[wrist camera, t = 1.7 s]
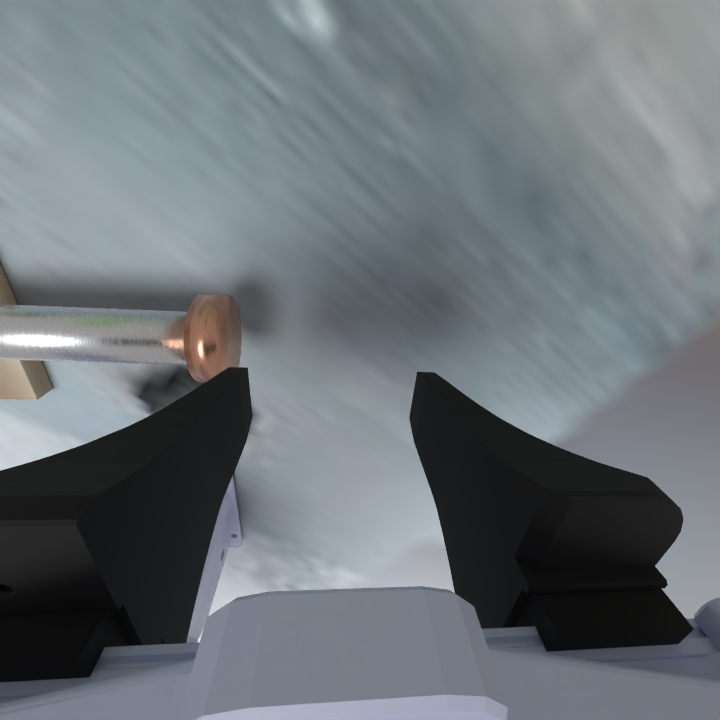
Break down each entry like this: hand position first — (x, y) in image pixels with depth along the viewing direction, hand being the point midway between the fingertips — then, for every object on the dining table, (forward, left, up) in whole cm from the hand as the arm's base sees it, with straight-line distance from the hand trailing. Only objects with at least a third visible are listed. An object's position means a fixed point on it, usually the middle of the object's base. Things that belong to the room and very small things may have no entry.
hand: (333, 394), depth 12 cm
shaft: (0, +14, -6) cm, 15 cm away
